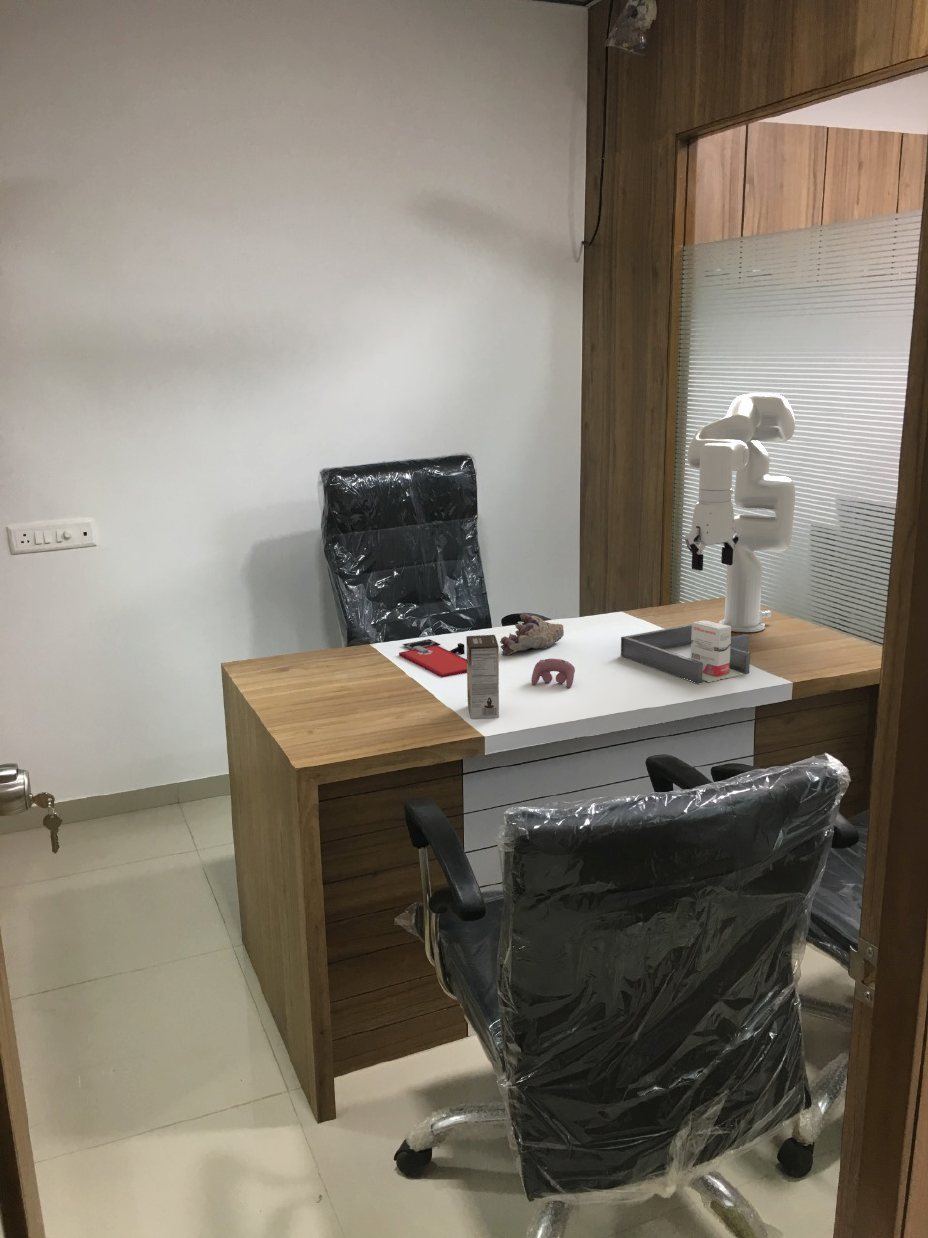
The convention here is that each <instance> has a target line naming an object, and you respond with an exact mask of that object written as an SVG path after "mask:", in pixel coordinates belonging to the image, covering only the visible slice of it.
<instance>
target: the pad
mask: <svg viewBox="0 0 928 1238" xmlns="http://www.w3.org/2000/svg"><path fill="white" fill-rule="evenodd" d="M743 674H744V673H742V672H739V671H736V670H733V669H730V668H729V673H728V674H724V675H721V676H718V677H716V676H713V675H709V674H706V673H702V680H704V681H703V682H705V681H707V682H710V683H713V682H712V681H714V682H716V681H715V680H719V681H721V680H720V679H723V680H726V679H725V678H728V679H731V678H736V677H740V676H743ZM707 682H706V683H707Z"/></svg>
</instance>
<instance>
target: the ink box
mask: <svg viewBox="0 0 928 1238" xmlns="http://www.w3.org/2000/svg"><path fill="white" fill-rule="evenodd" d="M691 624H692V634H691V644H690V657H689V658H690V659H693V660H696V661H699V662H702V663H703V673H706V674H709V675H713V676H716V677H718V676H721V675H724V674H728V673H729V669H730V645H731V637H732V631H731V626H727V625H723V624H718V622H713V621H710V620H697V621H693V622H692V623H691Z"/></svg>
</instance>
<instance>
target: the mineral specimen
mask: <svg viewBox="0 0 928 1238" xmlns="http://www.w3.org/2000/svg"><path fill="white" fill-rule="evenodd" d="M519 617H520V619H521V621H522V623H518V624H515V628H516V629H517V630H515V631H514V633H515V634H513V633H511V632H510V633H509V635H508V636H506V635H505V636H503V637H501V638H500V640H499V643H500V644H502V645H500V649H501V650H502V651H501V654H502V656H507V657H509V656H510V655H512V654H515V653H516V652H518V651H526V650H529V649H536V650H539V649H547V648H546V647H548V648H550V647H552V645H554V644H555V643H557V642H559V641H560V640H562V638H563V637H564V633H565V632H564V631H565V630H564V624H562V623H561V624H559V623H550V622H548V621H544V620H543V619H542V618H541V617H539V616H536V615H529V614H528V613H523V614H520V615H519ZM538 648H539V649H538Z"/></svg>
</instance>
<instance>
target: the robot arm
mask: <svg viewBox="0 0 928 1238" xmlns="http://www.w3.org/2000/svg"><path fill="white" fill-rule="evenodd" d="M795 429H796V420H795V415H794V412H793V410H792V407H791V405H790V403H789V402H788V400H787V399H786V397H784V396H782V394H781V395H780V394H777V393H774V394H773V393H747V394H742V395H739V396H736V398H734V399H733V401H732V402H731V404H730V405H729V407H728V409H727V411H726V413H725V415H724V417H723V418H720V419H718V420H715V421H713V422H710V423H708V424H706V425H704V426H702V427H701V428H699V429H698V430H697V431H696V433H695V434H694V436H693V437H692V439H691V440H690V444H689V446H688V448H687V454H686V455H687V456H686V457H687V458H686V459H687V463H688V465H689V466H690V468H692V469H693V470H695V471H699V476H698V478H699V480H698V481H699V482H698V501H697V502H695V505H694V510H693V513H692V514H693V515H692V521H691V531H690V532H689V533H688V534H687V535H685V537H684V541H685V543H686V547H687V549H688V550H689V553H690V554H691V569H692V570H695V571H699V572H701V571H703V570H704V554H703V551H704V550H705V548H706V547H707V546H713V545H719V544H721V545H723V546H722V548H721V560H720V563H721V564H723V565H726V576H725V577H726V580H725V581H726V582H725V598H724V600H725V601H724V618H723V619H720V620H719V621H718V622H717V623H718V624H723V625H727V626H731V632H736V633H755V632H761V631H763V630H765V628H766V624H765V623H764V622H763V619H765V618H766V619H768V618H771V616H772V611H771V610H764V611H763V610H761V598H762V581H763V580H762V579H763V564H762V562H761V559H760V558H759V556H758V555H757V554H756V553H755V552H758V551H759V552H775V553H778V552H779V553H781V552H785V551H786V550H788V549H789V547H790V546H791V542H792V535H793V527H794V516H795V503H796V487H795V483H794V480H792V479H791V478H789V477H787V476H781V475H780V476H777V475H776V476H775V475H770V474H769V472H770V463H771V462H770V461H771V460H770V455H769V453H768V452H767V450H766V448H765V447H764V446H763V445H762V444H761V442H777V443H778V442H781V443H782V442H787V441H789V440H790V439H791V438H792V437H793V436H794V433H795ZM733 472H736V476H735V481H734V482H735V484H734V485H735V486H734V491H733V489H732V488H733ZM733 494H734V496H733V497H734V498H733V499H734V504H735V506H736V507H737V508H738V509H741V510H744V511H754V512H755V511H758V512H759V511H761V512H773V513H775V516H774V515H773V516H771V515H770V516H769V515H756V514H755V515H754V514H738V515H735V513H734V505H733V501H732V495H733Z"/></svg>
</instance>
